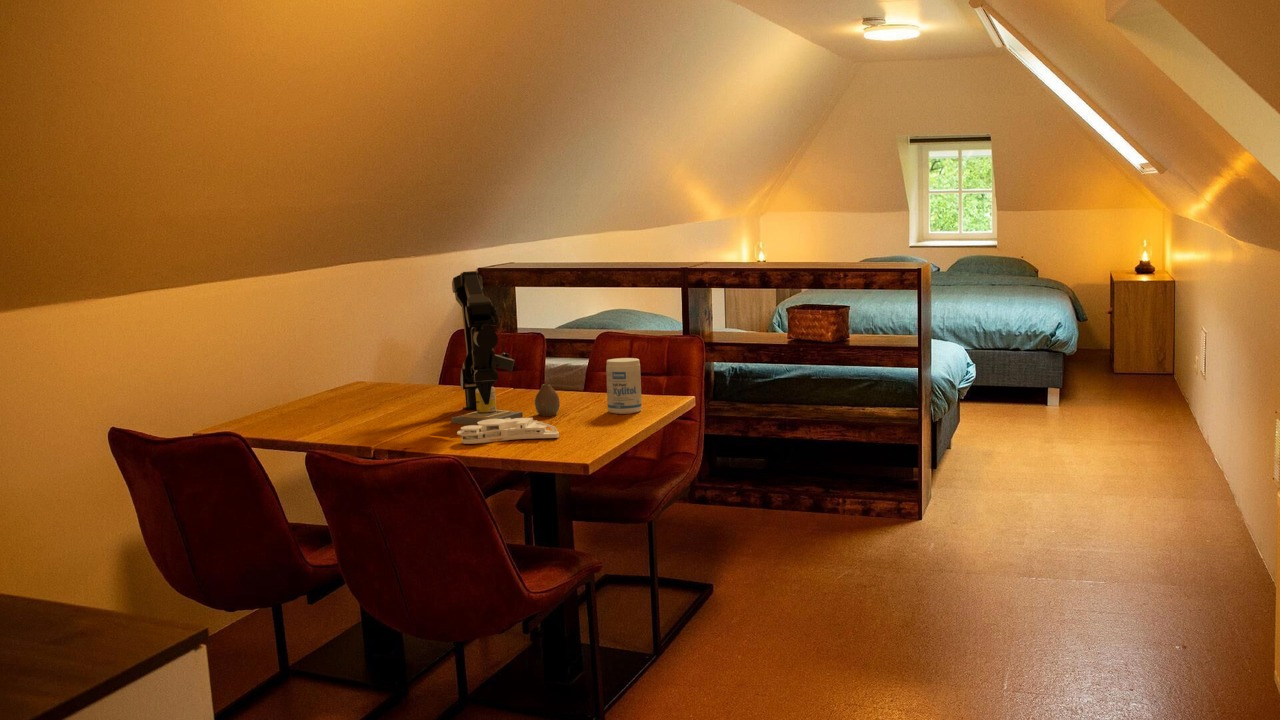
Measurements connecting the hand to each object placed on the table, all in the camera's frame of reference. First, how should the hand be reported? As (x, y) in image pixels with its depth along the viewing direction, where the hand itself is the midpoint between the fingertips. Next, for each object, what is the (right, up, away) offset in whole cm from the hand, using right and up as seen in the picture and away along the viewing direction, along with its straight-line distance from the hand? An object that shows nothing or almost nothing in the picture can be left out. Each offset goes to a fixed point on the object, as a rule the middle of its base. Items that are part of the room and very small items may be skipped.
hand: (486, 402), depth 307 cm
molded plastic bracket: (+10, -8, -20) cm, 24 cm away
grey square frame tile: (0, -5, +1) cm, 5 cm away
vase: (+17, -4, +4) cm, 18 cm away
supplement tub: (+39, -3, +4) cm, 39 cm away
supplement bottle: (0, -4, 0) cm, 4 cm away
